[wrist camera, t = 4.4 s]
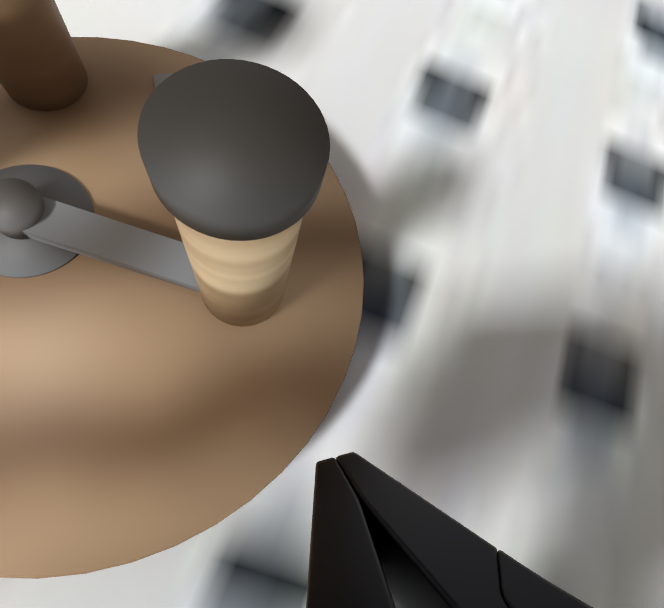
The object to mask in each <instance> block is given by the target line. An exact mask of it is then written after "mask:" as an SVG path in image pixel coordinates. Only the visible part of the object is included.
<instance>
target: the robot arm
mask: <svg viewBox="0 0 664 608" xmlns="http://www.w3.org/2000/svg"><path fill="white" fill-rule="evenodd" d="M306 608H593V607H591V606H589V605H587V604H586V603H584V602H582V601H581V600H579V599H577V598H575V597H574V596H572V595H570V594H569V593H567V592H565V591H564V590H562V589H560V588H558V587H557V586H555V585H553V584H552V583H550V582H548V581H547V580H545V579H544V578H542V577H541V576H539V575H537V574H536V573H534V572H533V571H531V570H530V569H528V568H527V567H525V566H523V565H522V564H520V563H519V562H517V561H516V560H514V559H513V558H511V557H510V556H508V555H507V554H505V553H504V552H503V551H501V550H499V551H498V552H497V549H496V548H495V547H494V546H493V545H491V544H490V543H488V542H487V541H485V540H484V539H482V538H481V537H479V536H478V535H476V534H475V533H473V532H472V531H470V530H469V529H467V528H466V527H464V526H463V525H461V524H460V523H459V522H457V521H456V520H454V519H453V518H451V517H450V516H448V515H447V514H445V513H444V512H442V511H441V510H439V509H438V508H436V507H435V506H433V505H432V504H430V503H429V502H427V501H426V500H425V499H423V498H422V497H420V496H419V495H417V494H416V493H414V492H413V491H411V490H410V489H408V488H407V487H405V486H404V485H402V484H401V483H399V482H398V481H396V480H395V479H393V478H392V477H390V476H389V475H388V474H386V473H385V472H383V471H382V470H380V469H379V468H377V467H376V466H374V465H373V464H371V463H370V462H368V461H367V460H365V459H364V458H362V457H361V456H359V455H358V454H356V453H354V452H352V453H348V454H344V455H340V456H338V457H337V458H336V459H335V458H329V459H326V460H322V461H319V462H317V464H316V472H315V486H314V501H313V515H312V530H311V544H310V558H309V573H308V587H307V602H306Z"/></svg>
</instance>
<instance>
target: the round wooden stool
mask: <svg viewBox="0 0 664 608" xmlns="http://www.w3.org/2000/svg"><path fill="white" fill-rule="evenodd" d="M200 62H204V61H203V60H200V59H198V58H196V57H193V56H190V55H187V54H183V53H180V52H177V51H174V50H171V49H167V48H164V47H159V46H155V45H150V44H145V43H140V42H135V41H128V40H119V39H109V38H99V37H71V36H70V34H69V32H68V30H67V27H66V25H65V23H64V21H63V19H62V16H61V14H60V12H59V10H58V7H57V5H56V3H55V1H54V0H0V180H1V179H5V178H17V179H22V180H24V181H27V182H29V183H30V184H31V185H33V186H34V187H35V189H36V190H37V191H38V192H39V193H40V194H41V195H42V196H43V197H46V198H49V199H52V200H55V201H58V202H61V203H64V204H67V205H70V206H73V207H76V208H79V209H82V210H85V211H89V212H92V213H95V214H98V215H101V216H104V217H107V218H110V219H113V220H116V221H119V222H122V223H125V224H128V225H131V226H134V227H137V228H140V229H143V230H146V231H149V232H153V233H156V234H159V235H162V236H165V237H168V238H171V239H174V240H177V241H180V242H183V241H182V238H181V235H180V232H179V229H178V226H177V223H176V220H175V218H174V216H173V215H172V214H171V213H170V212H169V211H168V210H167V209H166V208H165V206H164V205H163V204H162V203H161V202H160V200H159V198H158V197H157V195H156V193H155V191H154V189H153V187H152V184H151V182H150V179H149V177H148V174H147V171H146V169H145V166H144V164H143V161H142V159H141V155H140V151H139V147H138V138H137V131H138V122H139V118H140V114H141V111H142V109H143V107H144V104H145V102H146V101H147V99H148V98H149V96H150V94H151V93H152V92H153V91H154V90H155V88H156V87H157V86H158V85H159V84H160V83H162V82H163V81H164V80H165V79H166V78H168V77H169V76H171V75H172V74H174V73H175V72H177V71H179V70H181V69H183V68H185V67H187V66H190V65H193V64H196V63H200ZM363 286H364V279H363V265H362V252H361V247H360V242H359V237H358V233H357V228H356V223H355V220H354V217H353V214H352V211H351V208H350V206H349V203H348V200H347V197H346V194H345V192H344V190H343V188H342V186H341V184H340V182H339V180H338V178H337V177H336V175H335V173H334V171H333V169H332V167H331V165H330V164H329V163H328V164H327V168H326V171H325V175H324V178H323V181H322V185H321V188H320V191H319V193H318V196H317V198H316V200H315V202H314V203H313V205H312V207H311V208H310V209H309V211H308V212H307V213H306V214H305V215H304V216H303V218H302V222H301V226H300V230H299V234H298V238H297V242H296V246H295V250H294V254H293V258H292V262H291V266H290V270H289V274H288V278H287V282H286V286H285V290H284V294H283V297H282V301H281V303H280V305H279V307H278V309H277V310H276V311H275V312H274V313H273V314H272V315H271V316H270V317H269V318H268V319H266V320H265V321H263V322H261V323H259V324H256V325H252V326H246V327H240V326H233V325H229V324H226V323H224V322H222V321H220V320H218V319H217V318H216V317H214V316H213V315H212V314H211V313H210V311H209V310H208V309H207V307H206V306H205V304H204V301H203V299H202V296H201V293H200V292H197V291H194V290H191V289H187V288H184V287H181V286H178V285H175V284H172V283H169V282H165V281H162V280H159V279H156V278H153V277H150V276H147V275H144V274H140V273H137V272H134V271H131V270H128V269H125V268H122V267H118V266H115V265H112V264H109V263H106V262H103V261H100V260H97V259H93V258H90V257H87V256H84V255H81V254H78V253H75V252H71V251H68V250H65V249H62V248H59V247H56V246H53V245H50V244H46V243H43V242H40V241H37V240H34V239H31V238H30V239H23V240H18V239H13V238H9V237H7V236H5V235H4V234H2V233H1V232H0V577H3V578H35V579H38V578H47V577H57V576H66V575H76V574H85V573H89V572H94V571H98V570H102V569H106V568H110V567H115V566H119V565H123V564H127V563H132V562H134V561H137V560H139V559H142V558H145V557H147V556H150V555H153V554H155V553H158V552H161V551H163V550H166V549H169V548H171V547H174V546H176V545H178V544H180V543H182V542H184V541H186V540H188V539H190V538H191V537H193V536H195V535H197V534H199V533H201V532H203V531H205V530H207V529H209V528H210V527H212V526H214V525H216V524H217V523H219V522H220V521H222V520H223V519H224V518H226V517H227V516H229V515H230V514H232V513H233V512H235V511H236V510H237V509H239V508H240V507H242V506H243V505H245V504H246V503H247V502H249V501H250V500H252V499H253V498H254V497H255V496H256V495H257V494H258V493H259V492H260V491H262V490H263V489H264V488H265V487H266V486H267V485H268V484H269V483H270V482H272V481H273V480H274V479H275V478H276V477H277V476H278V475H279V474H280V473H282V471H283V470H284V469H285V468H286V467H287V466H288V465H289V463H290V462H291V461H292V460H293V459H294V458H295V456H296V455H297V454H298V453H299V452H300V451H301V450H302V448H303V447H304V446H305V445H306V444H307V443H308V441H309V440H310V438H311V437H312V435H313V434H314V432H315V431H316V429H317V428H318V426H319V425H320V423H321V422H322V420H323V419H324V417H325V416H326V414H327V413H328V411H329V409H330V407H331V405H332V403H333V401H334V399H335V397H336V395H337V393H338V391H339V389H340V387H341V385H342V383H343V381H344V378H345V376H346V373H347V370H348V367H349V364H350V361H351V358H352V355H353V352H354V349H355V346H356V341H357V336H358V331H359V326H360V321H361V315H362V303H363Z"/></svg>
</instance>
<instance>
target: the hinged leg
mask: <svg viewBox="0 0 664 608" xmlns="http://www.w3.org/2000/svg"><path fill="white" fill-rule="evenodd" d="M137 138H138V147H139V151H140V155H141V159H142V161H143V164H144V166H145V169H146V171H147V174H148V177H149V179H150V182H151V184H152V187H153V189H154V191H155V193H156V195H157V197H158V198H159V200H160V202H161V203H162V204H163V205H164V206H165V208H166V209H167V210H168V211H169V212H170V213H171V214H172V215H173V216H174V218H175V220H176V223H177V226H178V229H179V232H180V235H181V238H182V241H183V242H180V241H177V240H174V239H171V238H168V237H165V236H162V235H159V234H156V233H153V232H149V231H146V230H143V229H140V228H137V227H134V226H131V225H128V224H125V223H122V222H119V221H116V220H113V219H110V218H107V217H104V216H101V215H98V214H95V213H92V212H89V211H85V210H82V209H79V208H76V207H73V206H70V205H67V204H64V203H61V202H58V201H55V200H52V199H49V198H46V197H43V196H42V195H41V194H40V193H39V192H38V191H37V190H36V189H35V187H34V186H33V185H31V184H30V183H29V182H27V181H24V180H22V179H17V178H5V179H1V180H0V232H1V233H2V234H4V235H5V236H7V237H9V238H13V239H18V240H23V239H30V238H31V239H34V240H37V241H40V242H43V243H46V244H50V245H53V246H56V247H59V248H62V249H65V250H68V251H71V252H75V253H78V254H81V255H84V256H87V257H90V258H93V259H97V260H100V261H103V262H106V263H109V264H112V265H115V266H118V267H122V268H125V269H128V270H131V271H134V272H137V273H140V274H144V275H147V276H150V277H153V278H156V279H159V280H162V281H165V282H169V283H172V284H175V285H178V286H181V287H184V288H187V289H191V290H194V291H197V292H200V293H201V296H202V299H203V301H204V304H205V306H206V307H207V309H208V310H209V311H210V313H211V314H212V315H213V316H214V317H216V318H217V319H218V320H220V321H222V322H224V323H226V324H229V325H233V326H240V327H246V326H252V325H256V324H259V323H261V322H263V321H265V320H266V319H268V318H269V317H270V316H271V315H272V314H273V313H274V312H275V311H276V310H277V309H278V307H279V305H280V303H281V301H282V297H283V294H284V290H285V286H286V282H287V278H288V274H289V270H290V266H291V262H292V258H293V254H294V250H295V246H296V242H297V238H298V234H299V230H300V226H301V222H302V218H303V216H304V215H305V214H306V213H307V212H308V211H309V209H310V208H311V207H312V205H313V203H314V202H315V200H316V198H317V196H318V193H319V191H320V188H321V185H322V181H323V178H324V175H325V171H326V168H327V164H328V160H329V152H330V140H329V133H328V128H327V125H326V122H325V120H324V117H323V115H322V113H321V111H320V109H319V107H318V106H317V105H316V103H315V102H314V100H313V99H312V98H311V97H310V95H309V94H308V93H307V92H306V91H305V90H304V89H303V88H302V87H301V86H300V85H298V84H297V83H296V82H295V81H293V80H292V79H290V78H289V77H287V76H286V75H284V74H282V73H280V72H279V71H276V70H274V69H272V68H270V67H267V66H264V65H261V64H258V63H254V62H249V61H244V60H235V59H218V60H209V61H204V62H200V63H196V64H193V65H190V66H187V67H185V68H183V69H181V70H179V71H177V72H175V73H174V74H172V75H171V76H169V77H168V78H166V79H165V80H164V81H163V82H162V83H160V84H159V85H158V86H157V87H156V88H155V90H154V91H153V92H152V93H151V94H150V96H149V98H148V99H147V101H146V102H145V104H144V107H143V109H142V111H141V114H140V118H139V122H138V131H137Z"/></svg>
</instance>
